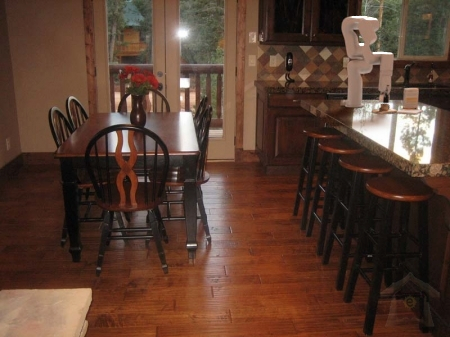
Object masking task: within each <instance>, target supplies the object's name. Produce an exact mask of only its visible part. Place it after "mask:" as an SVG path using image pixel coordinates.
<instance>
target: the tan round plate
mask: <svg viewBox="0 0 450 337" xmlns="http://www.w3.org/2000/svg"><path fill="white" fill-rule="evenodd" d="M390 107H391V106H390V104H389V103H380V107H378V108H375V109H371V113H373V114H378V113H379V115H380V114H381V115H384V114H385V115H387V114H390V115H391V114H397V111H398V110H397V109H393V108H390Z"/></svg>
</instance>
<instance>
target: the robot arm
mask: <svg viewBox="0 0 450 337" xmlns="http://www.w3.org/2000/svg"><path fill="white" fill-rule="evenodd" d="M379 29H380V20H378V19H377V18H375V17H370V16H365V15H362V16H361V15H359V16H357V15H356V16H354V15H353V16H348V17H345V18H344V19H343V20H342V22H341V32H342V35H343V38H344V43H345V49H346V55H347V57H348V58H349V59H351V60H350V61H349V62H348V63H347V64H346V65H347V66H346V70H347V78H348V79H347V80H348V81H347V99H342V103H343V104H345V105H344V106H345V107H346V108H364V107H365V105H364V104H363V103H362V102H363V83H364V82H363V78H362V74H368V73H369V74H370V73H371V72H372V70H373V68H374V67H373V66H375V65H379V81H378V88H377V89H378V91H379V92H380V93H379V96H380V95H383V94H384V98H383V102H382V104H389V103H390V97H389V95H390V93H391V89H392V76H393V70H394V57H395V56H394V53H392V52H386V51H385V52H384V51H377V52H376V51H375V52H374V51H372V50H371V48H370V45H373V44H374V43H375V42H376V41H377V39H378V36H377V33H376V32H377V31H378V30H379ZM354 30H358V31H359V34H360V36H361V38H362V41H363V43H360V42H359V37H358V35H357V33H356V32H355V31H354Z"/></svg>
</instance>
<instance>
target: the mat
mask: <svg viewBox="0 0 450 337" xmlns="http://www.w3.org/2000/svg"><path fill="white" fill-rule="evenodd" d="M420 112H421V113H423V112H424V110H423V109H404V108H402V109H400V110H397V112H396V114H404V115H405V114H406V115H418V113H419V114H421V113H420Z"/></svg>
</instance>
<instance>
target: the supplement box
mask: <svg viewBox="0 0 450 337" xmlns="http://www.w3.org/2000/svg"><path fill="white" fill-rule="evenodd" d="M419 93H420V92H419V87H409V88H408V87H406V88H403V98H402V99H403V102H402V109H413V110H416V109H415V108H417V109H418V108H419Z"/></svg>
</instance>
